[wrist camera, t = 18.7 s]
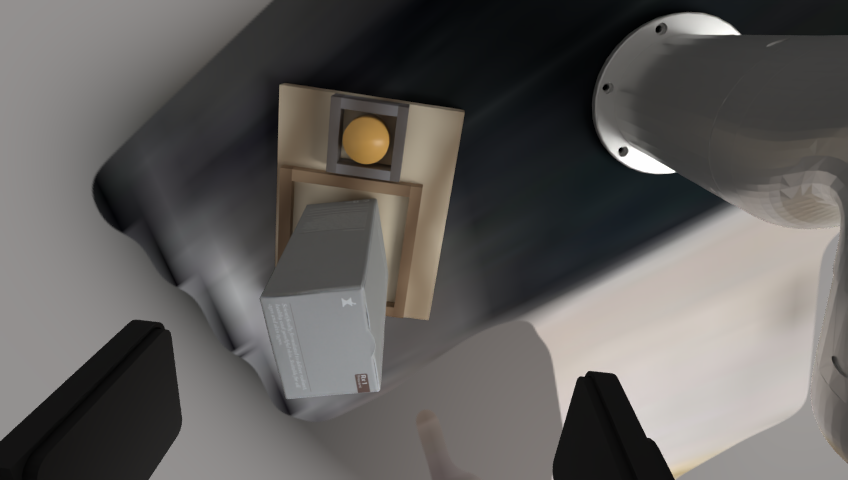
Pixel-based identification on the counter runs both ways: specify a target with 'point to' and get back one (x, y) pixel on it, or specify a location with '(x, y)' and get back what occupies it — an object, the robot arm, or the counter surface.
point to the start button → (366, 139)
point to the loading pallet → (372, 179)
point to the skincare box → (329, 301)
